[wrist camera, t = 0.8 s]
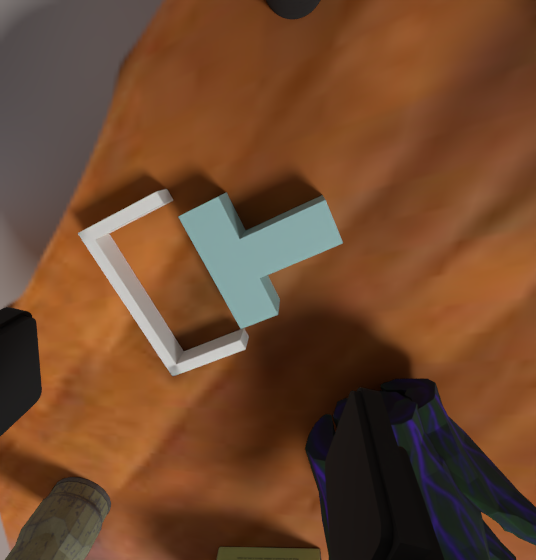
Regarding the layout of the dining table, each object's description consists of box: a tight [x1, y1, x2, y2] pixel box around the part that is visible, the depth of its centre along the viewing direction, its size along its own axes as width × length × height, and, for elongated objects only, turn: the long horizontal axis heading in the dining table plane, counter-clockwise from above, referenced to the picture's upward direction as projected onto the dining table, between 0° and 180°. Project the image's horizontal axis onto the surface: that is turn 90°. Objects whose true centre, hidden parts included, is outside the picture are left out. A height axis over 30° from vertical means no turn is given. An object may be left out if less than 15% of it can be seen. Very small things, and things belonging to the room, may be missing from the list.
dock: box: [78, 189, 249, 376], centre depth 34 cm, size 9×17×2 cm, turn 26°
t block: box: [179, 192, 343, 329], centre depth 31 cm, size 12×12×4 cm
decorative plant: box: [305, 379, 536, 560], centre depth 33 cm, size 21×26×30 cm
